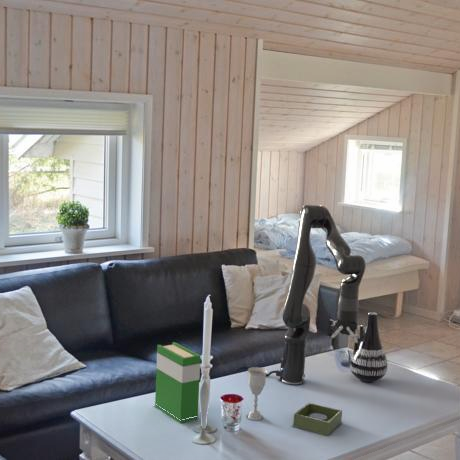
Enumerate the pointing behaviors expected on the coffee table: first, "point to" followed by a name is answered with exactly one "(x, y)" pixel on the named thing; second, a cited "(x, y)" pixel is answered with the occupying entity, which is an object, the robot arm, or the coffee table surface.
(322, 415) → the blue round puck
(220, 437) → the coffee table surface
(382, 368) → the vase
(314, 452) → the coffee table surface
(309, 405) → the tub
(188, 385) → the hardback book
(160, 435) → the coffee table surface
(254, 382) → the chalice
